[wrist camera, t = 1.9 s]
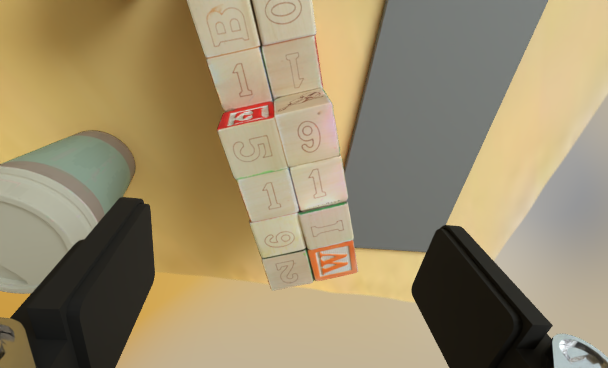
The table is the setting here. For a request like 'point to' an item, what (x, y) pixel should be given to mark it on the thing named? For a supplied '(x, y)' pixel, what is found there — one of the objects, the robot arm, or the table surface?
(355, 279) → the table surface
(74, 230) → the coffee cup
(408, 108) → the charcoal mat
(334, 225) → the stack of blocks
